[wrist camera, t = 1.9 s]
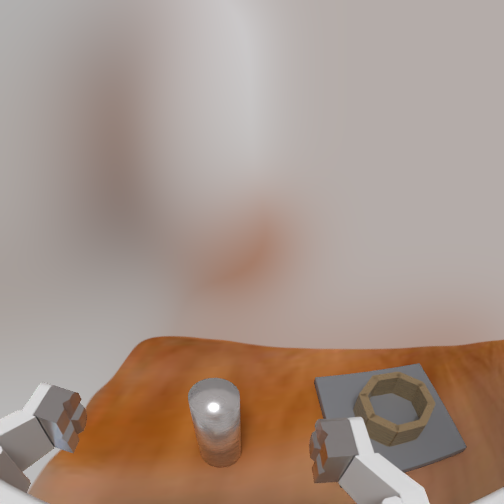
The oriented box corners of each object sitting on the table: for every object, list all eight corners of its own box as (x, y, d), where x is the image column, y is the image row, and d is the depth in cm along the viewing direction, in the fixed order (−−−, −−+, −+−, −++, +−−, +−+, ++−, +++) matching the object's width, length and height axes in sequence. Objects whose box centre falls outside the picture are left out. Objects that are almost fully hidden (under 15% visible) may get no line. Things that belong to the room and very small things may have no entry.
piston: (240, 435, 31) (239, 377, 27) (241, 467, 27) (240, 415, 23) (201, 434, 31) (190, 377, 27) (199, 466, 27) (185, 414, 23)
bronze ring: (408, 383, 35) (415, 368, 34) (434, 434, 27) (444, 419, 26) (347, 394, 35) (352, 378, 34) (366, 451, 27) (375, 437, 26)
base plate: (417, 368, 39) (419, 363, 39) (462, 451, 25) (466, 447, 24) (314, 382, 38) (315, 377, 38) (340, 487, 24) (342, 484, 23)
